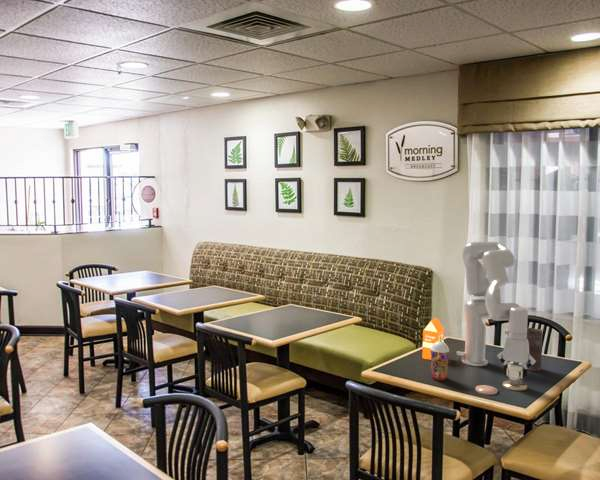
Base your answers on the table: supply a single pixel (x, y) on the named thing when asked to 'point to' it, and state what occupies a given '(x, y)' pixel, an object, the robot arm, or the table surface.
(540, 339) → the candle
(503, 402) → the table surface
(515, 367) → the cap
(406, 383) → the table surface
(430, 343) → the orange juice
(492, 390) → the coaster
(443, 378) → the smoothie
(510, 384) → the beige piece
